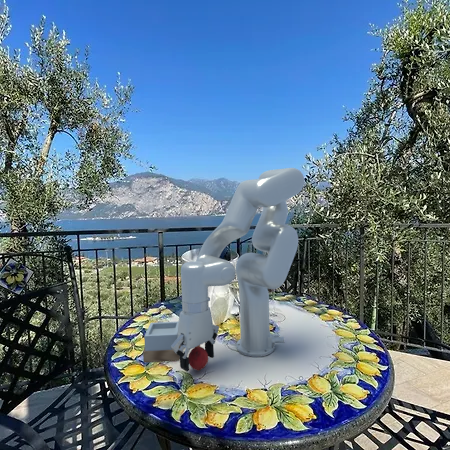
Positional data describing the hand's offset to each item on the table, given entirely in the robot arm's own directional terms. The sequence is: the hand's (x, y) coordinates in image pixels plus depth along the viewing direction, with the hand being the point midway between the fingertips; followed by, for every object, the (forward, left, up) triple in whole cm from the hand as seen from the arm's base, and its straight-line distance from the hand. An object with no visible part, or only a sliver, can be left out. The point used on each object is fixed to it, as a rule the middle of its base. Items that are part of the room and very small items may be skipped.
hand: (197, 362), depth 90 cm
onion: (0, 0, -3) cm, 3 cm away
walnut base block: (+12, -11, -3) cm, 16 cm away
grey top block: (+12, -11, +1) cm, 16 cm away
